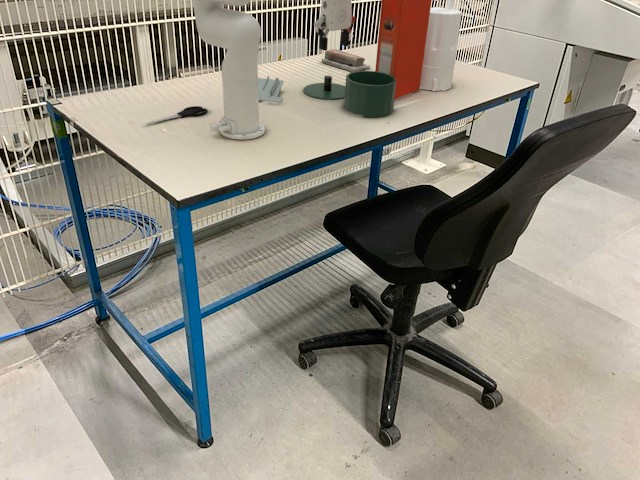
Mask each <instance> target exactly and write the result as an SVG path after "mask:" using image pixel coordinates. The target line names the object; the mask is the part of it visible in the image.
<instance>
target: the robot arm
mask: <svg viewBox="0 0 640 480" xmlns="http://www.w3.org/2000/svg"><path fill="white" fill-rule="evenodd" d="M250 1H251V0H192V2H193V11H194V19H195V25H196V30H197V33H198V35H199V37H200V39H201V40H202V41H203V42H204V43H205V44H207V45H210V46H213V47H217V48H221V49H225V50H226V53H225V56H224V58H223V60H222V63H221V80H222V97H223V115H224V116H223V115H222V116H221V117H220V120H219V121H218V122H214V123H211V124H209V130H210V131H211V132H215V131H219V133H220V134H221V135H222V136H223V137H225V138H227V139H232V140H240V141H243V140H252V139H256V138H259V137H262V136H263V135H264V134H265V132H266V127H265V125H264V124H263V123H261V122H260V106H259V105H260V104H259V102H260V101H259V98H258V78H259V62H258V61H259V51H260V44H261V40H262V39H261V38H262V28H261V25H260V23H259V22H258V20H257V18H255V17H254V16H253V15H251V14H250V13H247V12H244V11H240V10H236V9H235V10H234V9H228V8H225V5H226V6H231V7H242V6H245V5H247V4H249V2H250ZM352 4H353V3H352V0H321V6H320V13H319V14H320V17H319V18H318V19H316V21H314V22H313V26H314V29H315V33H316V34H317V36H318V39H319V40H318V50H322V51H324V52H326V51H328V43H329V42H328V41H329V40H328V35H329V32H337V31H341V30H342V31H341V33H340V45H341V46H343V47H344V46H345V47H349V45H350V34H351V33H352V30H353V28H354V24H355V22H356V19H357V18H356V17H355V16H354V15H353V8H352V7H353V6H352Z"/></svg>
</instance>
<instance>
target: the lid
mask: <svg viewBox="0 0 640 480" xmlns="http://www.w3.org/2000/svg"><path fill="white" fill-rule="evenodd" d="M302 89H303V90H302V92H303V94H304V95H306V96H307V97H310V98H312V99H316V100H317V99H318V100H323V101H324V100H325V101H338V100H344V98H345V85H342V84H339V83H335V82H333V76H332V75H324V77H323V82H318V83H316V82H315V83H311V84H308V85H305V86H304V87H303V88H302Z"/></svg>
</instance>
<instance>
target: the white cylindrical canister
mask: <svg viewBox="0 0 640 480" xmlns="http://www.w3.org/2000/svg"><path fill="white" fill-rule="evenodd" d="M433 1H434V2H435V1H436V2H437V1H438V0H433ZM455 4H456V0H447V4H446V7H439V6H438V7H436V6H435V7H434V6H433V7H431V9H430V16H429V23H428V30H427V37H426V45H425V52H424V59H423V66H422V73H421V81H420V88H419V90H427V91H432V92H436V91H442V92H445V91H446V90H449V89H451V88H452V86H453V77H454V73H455V72H454V70H455V65H456V62H457V61H456V59H457V53H458V43H459V35H460V27H461V20H462V11H461V10H458V9H456V8H455V6H456V5H455Z"/></svg>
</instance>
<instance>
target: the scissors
mask: <svg viewBox="0 0 640 480" xmlns="http://www.w3.org/2000/svg"><path fill="white" fill-rule="evenodd" d="M208 111H209V110H208V109H207V108H203V107H202V106H201V105H198V106H197V105H196V106H195V105H194V106H187V107H185V108H184V109H183V110H182V111H179V112H177V113H176V114H174V115H170V116H167V117H164V118H160V119H157V120H153V121H150V122H147V123H145V125H149V124H154V123H158V122H162V121H163V122H164V121H167V120H172V119H176V118H182V119H183V118H191V117H195V118H196V117H201V116H204V115H207V114H208Z"/></svg>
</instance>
